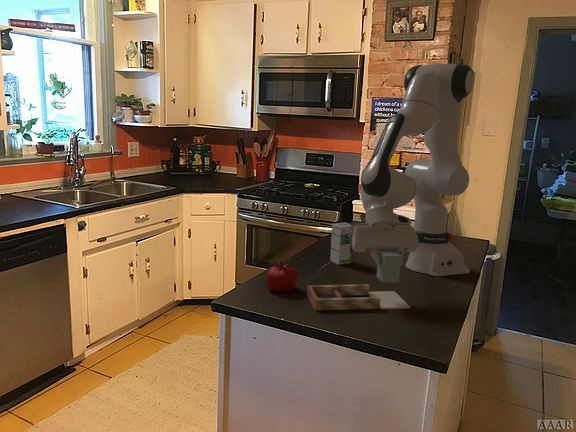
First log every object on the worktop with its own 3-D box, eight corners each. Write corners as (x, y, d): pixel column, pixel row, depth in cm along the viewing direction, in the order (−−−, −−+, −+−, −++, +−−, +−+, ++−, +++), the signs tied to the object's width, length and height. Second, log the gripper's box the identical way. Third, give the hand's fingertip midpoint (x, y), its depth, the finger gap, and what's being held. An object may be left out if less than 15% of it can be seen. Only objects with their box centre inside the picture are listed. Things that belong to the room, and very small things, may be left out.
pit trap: (335, 294, 147) (335, 284, 147) (345, 309, 136) (346, 299, 136) (306, 294, 146) (307, 285, 145) (315, 310, 135) (315, 300, 134)
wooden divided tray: (367, 293, 149) (367, 284, 148) (379, 308, 138) (380, 298, 137) (310, 294, 146) (310, 285, 145) (318, 310, 135) (319, 300, 134)
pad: (394, 292, 151) (394, 291, 151) (410, 308, 139) (410, 307, 139) (366, 292, 149) (366, 291, 149) (380, 309, 137) (380, 307, 137)
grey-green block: (392, 276, 145) (395, 250, 144) (398, 282, 140) (401, 255, 139) (376, 276, 144) (379, 250, 143) (382, 282, 140) (385, 255, 138)
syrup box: (338, 265, 175) (340, 226, 172) (329, 260, 180) (332, 222, 177) (351, 263, 178) (354, 225, 175) (342, 258, 183) (345, 221, 180)
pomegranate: (294, 297, 144) (296, 267, 142) (262, 293, 146) (263, 264, 144) (299, 285, 154) (301, 257, 151) (269, 281, 155) (270, 254, 153)
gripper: (351, 217, 144) (358, 258, 137) (415, 218, 147) (426, 258, 140) (345, 228, 149) (352, 268, 142) (408, 229, 153) (417, 268, 145)
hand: (389, 263), depth 141 cm, fingers closed on grey-green block, 5 cm apart
